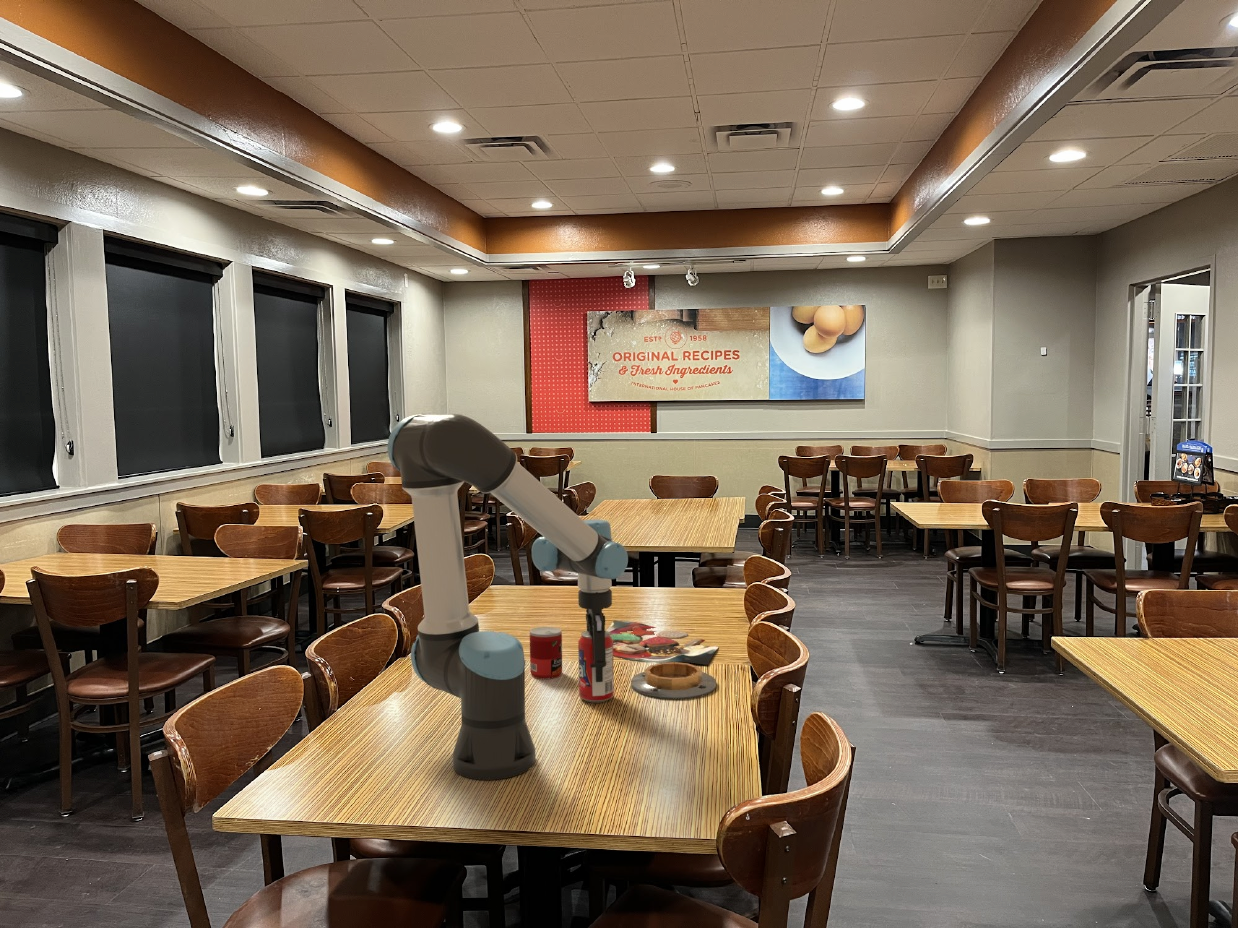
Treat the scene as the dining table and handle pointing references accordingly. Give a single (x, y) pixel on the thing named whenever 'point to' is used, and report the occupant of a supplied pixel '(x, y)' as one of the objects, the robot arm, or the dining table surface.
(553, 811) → the dining table surface
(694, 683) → the bolted flange plate
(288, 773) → the dining table surface
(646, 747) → the dining table surface
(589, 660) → the soda can
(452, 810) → the dining table surface
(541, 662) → the canned food
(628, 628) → the colorful printed placemat
